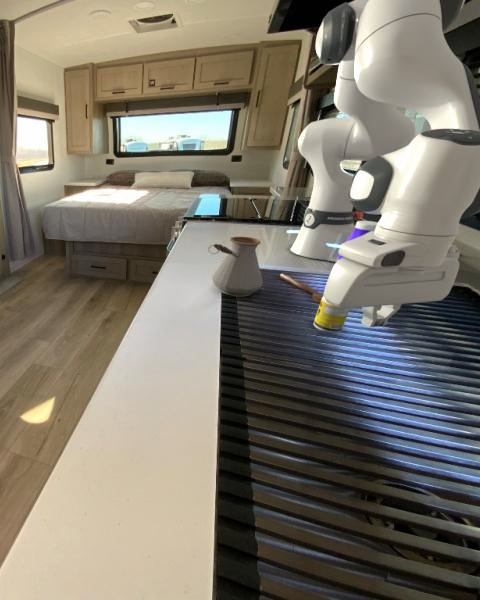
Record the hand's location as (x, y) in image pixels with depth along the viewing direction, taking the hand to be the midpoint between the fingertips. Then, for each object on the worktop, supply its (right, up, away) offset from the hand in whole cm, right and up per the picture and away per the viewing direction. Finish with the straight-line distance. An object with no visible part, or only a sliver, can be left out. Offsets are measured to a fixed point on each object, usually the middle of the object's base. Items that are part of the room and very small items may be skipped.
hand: (372, 325), depth 57 cm
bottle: (+13, +5, +23) cm, 27 cm away
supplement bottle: (-1, -1, +9) cm, 9 cm away
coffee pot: (-15, +5, +23) cm, 28 cm away
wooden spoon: (+5, +7, +26) cm, 27 cm away
